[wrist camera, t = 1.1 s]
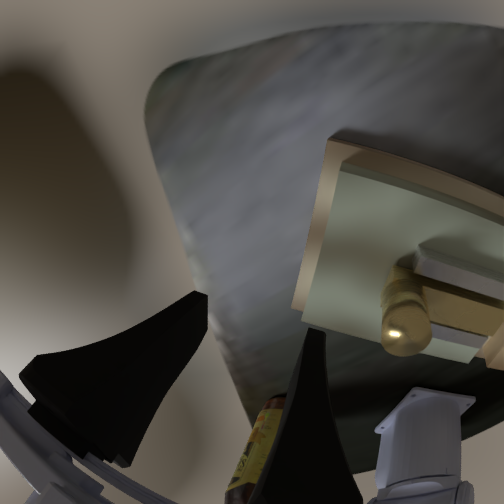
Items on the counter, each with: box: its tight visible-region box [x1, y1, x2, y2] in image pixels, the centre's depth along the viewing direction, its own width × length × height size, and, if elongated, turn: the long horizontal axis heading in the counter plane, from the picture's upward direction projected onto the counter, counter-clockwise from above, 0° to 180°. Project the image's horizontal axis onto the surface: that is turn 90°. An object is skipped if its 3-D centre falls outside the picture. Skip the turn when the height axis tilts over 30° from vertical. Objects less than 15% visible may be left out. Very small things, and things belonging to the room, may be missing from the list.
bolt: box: [380, 265, 504, 356], centre depth 13 cm, size 2×8×4 cm, turn 84°
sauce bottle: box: [225, 397, 286, 504], centre depth 22 cm, size 6×6×20 cm
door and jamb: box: [291, 137, 504, 370], centre depth 15 cm, size 12×26×3 cm, turn 84°
